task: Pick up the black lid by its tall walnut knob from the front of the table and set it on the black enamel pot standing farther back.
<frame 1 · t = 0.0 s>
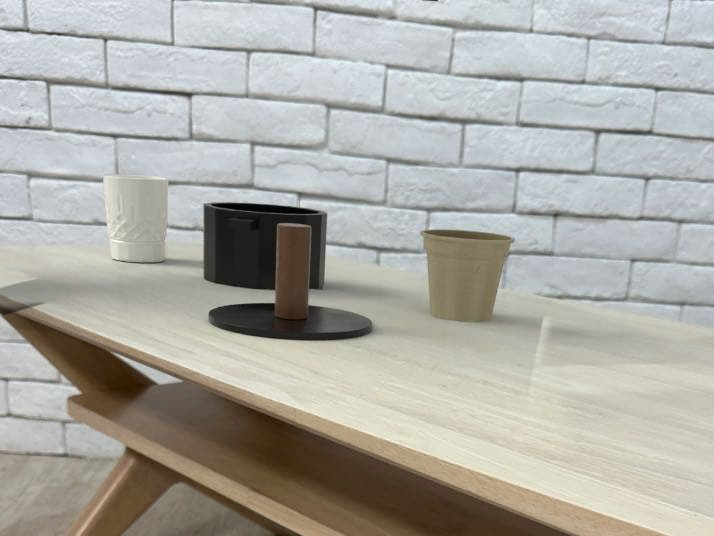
pot: (263, 285, 115), on the table
pot lid: (291, 323, 91), point 1 cm above the table
white cup: (137, 261, 128), on the table
flower pot: (459, 323, 102), on the table
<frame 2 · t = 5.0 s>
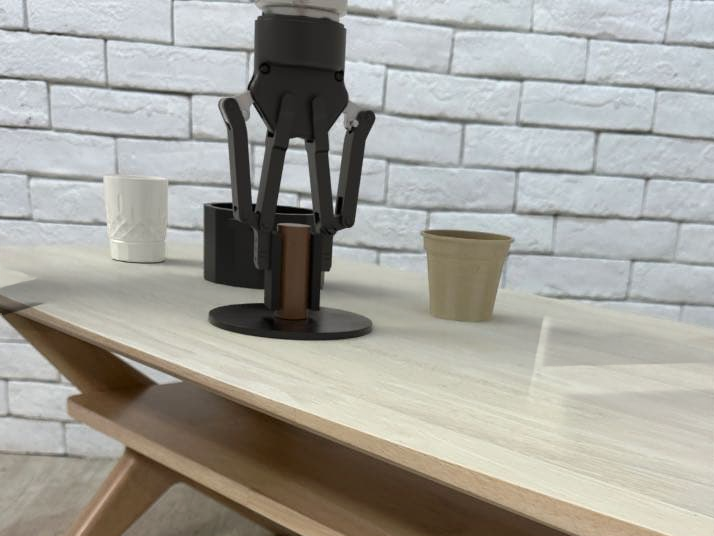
hand: (291, 307, 90), 2 cm above the table, tool pointing down, fingers closed on pot lid, 3 cm apart
pot lid: (291, 323, 91), point 1 cm above the table, touching gripper
everything else where it was.
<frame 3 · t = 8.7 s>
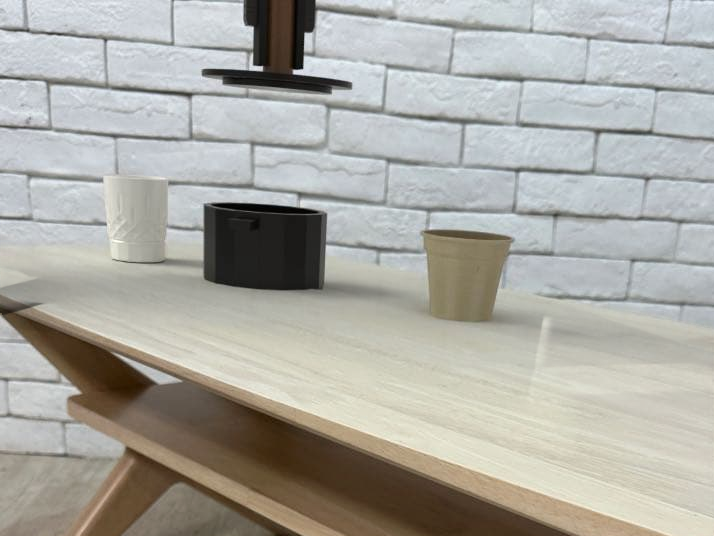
hand: (278, 66, 98), 23 cm above the table, tool pointing down, fingers closed on pot lid, 3 cm apart
pot lid: (277, 83, 99), point 21 cm above the table, touching gripper
everything else where it was.
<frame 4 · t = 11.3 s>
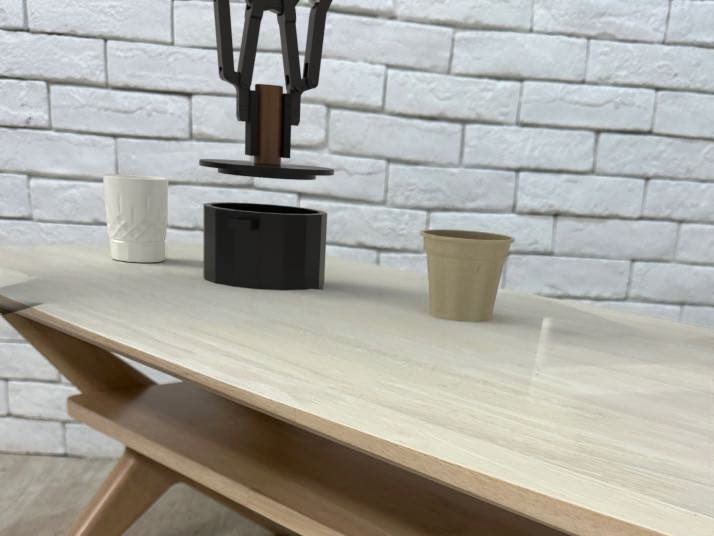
hand: (267, 156, 110), 14 cm above the table, tool pointing down, fingers closed on pot lid, 3 cm apart
pot lid: (267, 170, 110), point 13 cm above the table, touching gripper
everything else where it was.
when the fingers open (10 cm above the table, at t = 12.5 s): pot lid stays where it is, resting on pot.
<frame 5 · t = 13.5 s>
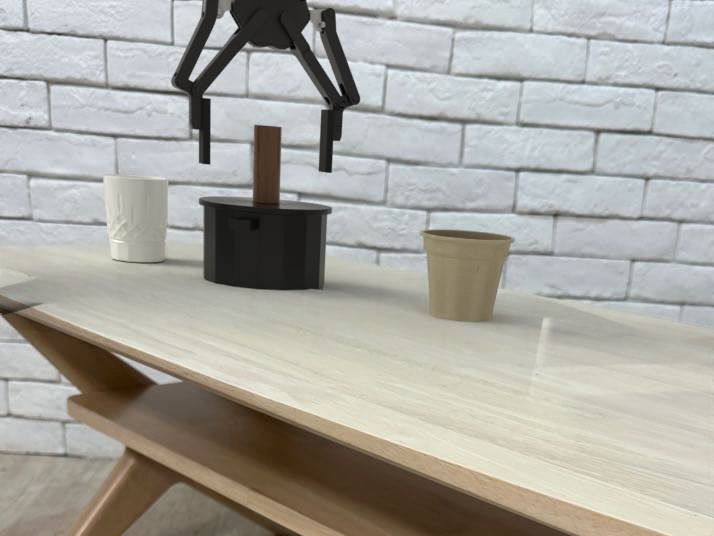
hand: (266, 168, 110), 13 cm above the table, tool pointing down, fingers open, 13 cm apart
pot lid: (266, 208, 112), point 8 cm above the table, touching pot
everything else where it was.
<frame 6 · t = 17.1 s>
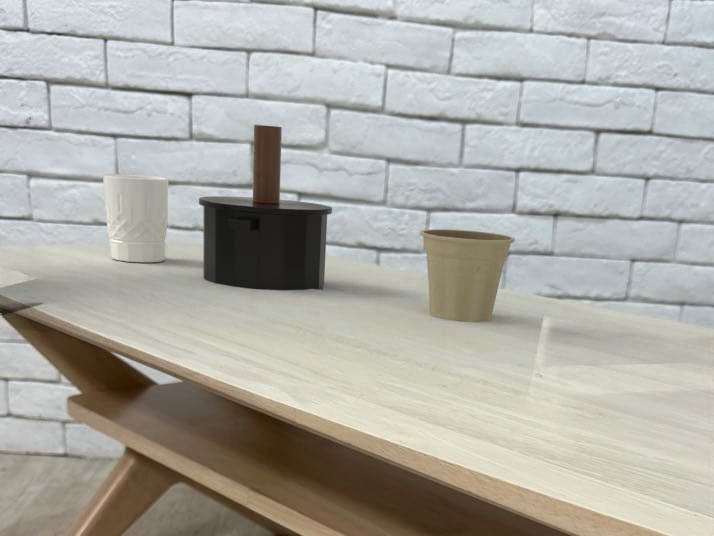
nothing on the table moved.
at the end: pot lid 0.0 cm off-centre on the pot, point 8.5 cm above the pot's base; pot lid tilted 0° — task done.
